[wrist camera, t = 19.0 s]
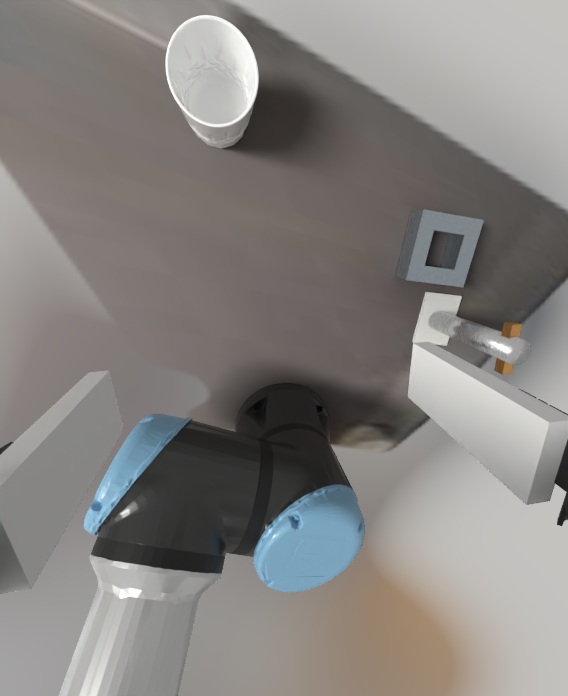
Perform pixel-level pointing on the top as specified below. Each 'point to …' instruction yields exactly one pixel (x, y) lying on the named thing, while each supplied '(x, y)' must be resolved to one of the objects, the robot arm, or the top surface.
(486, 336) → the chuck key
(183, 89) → the white cup
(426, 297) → the mat
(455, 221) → the block
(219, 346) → the top surface
